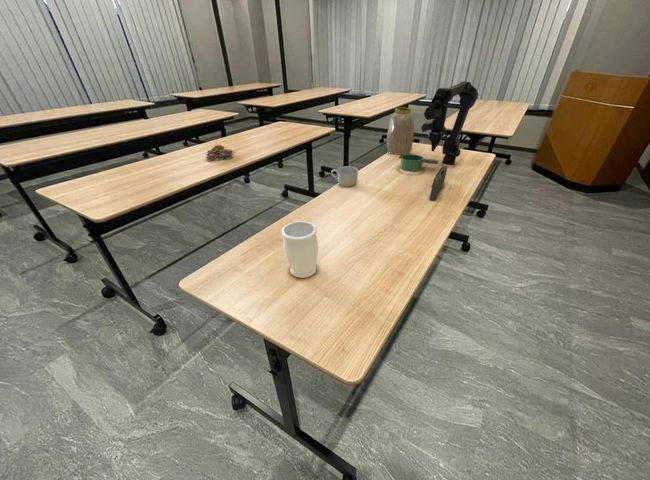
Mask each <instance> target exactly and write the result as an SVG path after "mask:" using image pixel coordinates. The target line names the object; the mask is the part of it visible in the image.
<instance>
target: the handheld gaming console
mask: <svg viewBox="0 0 650 480" xmlns="http://www.w3.org/2000/svg"><path fill="white" fill-rule="evenodd" d="M447 171H448V165H442V166H441V167H440V168H439V170H438V172H437V173H436V175H435V176H434V178H433V181H432V184H431V190H430V196H429V200H430V201H436V200H437V198H438V196H439V194H440V192H441V191H442V189H443V185H444V184H445V181H446V175H447Z"/></svg>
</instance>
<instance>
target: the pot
mask: <svg viewBox="0 0 650 480" xmlns="http://www.w3.org/2000/svg"><path fill="white" fill-rule="evenodd" d="M398 160H400V165H399V166H400V170H402V171H404V172H410V173H412V172H413V173H415V172H420V171H422V170H423V167H424V164H431V165H438V164H439V162H440V161H439V159H430V158H425V157H423V156H422V155H419V154H414V153H413V154H410V153H409V154H408V155H403V156H401V155H399V157H398Z"/></svg>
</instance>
